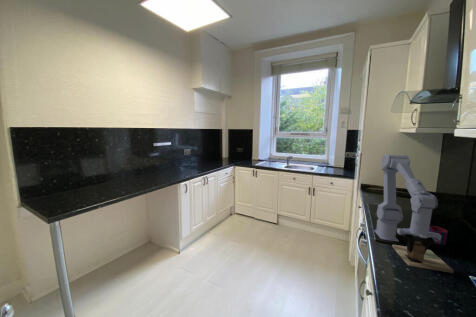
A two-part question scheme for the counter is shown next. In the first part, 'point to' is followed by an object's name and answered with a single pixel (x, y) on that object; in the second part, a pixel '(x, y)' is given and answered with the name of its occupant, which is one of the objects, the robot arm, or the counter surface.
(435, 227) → the mug
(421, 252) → the peg
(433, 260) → the board
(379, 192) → the counter surface
